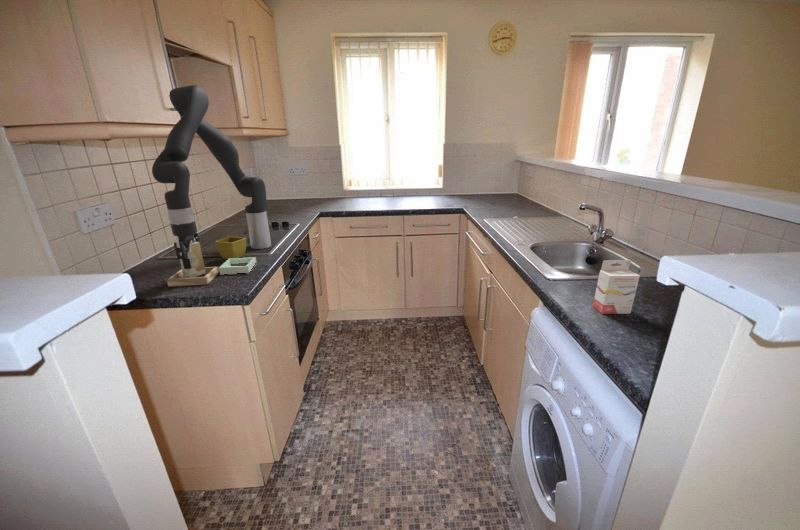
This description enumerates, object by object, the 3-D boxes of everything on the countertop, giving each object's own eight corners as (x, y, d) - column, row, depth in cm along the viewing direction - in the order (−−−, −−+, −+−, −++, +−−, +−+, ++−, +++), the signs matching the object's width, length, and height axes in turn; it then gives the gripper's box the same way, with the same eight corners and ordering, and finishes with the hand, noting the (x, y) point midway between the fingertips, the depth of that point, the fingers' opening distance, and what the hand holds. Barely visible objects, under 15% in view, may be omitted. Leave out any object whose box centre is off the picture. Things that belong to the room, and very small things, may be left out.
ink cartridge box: (602, 314, 96) (612, 265, 92) (592, 306, 101) (601, 259, 96) (631, 313, 97) (643, 264, 92) (620, 306, 101) (630, 259, 96)
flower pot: (249, 257, 152) (246, 237, 149) (235, 263, 144) (232, 242, 141) (233, 255, 154) (229, 236, 151) (218, 261, 146) (214, 241, 143)
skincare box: (190, 278, 123) (182, 246, 119) (183, 277, 124) (175, 244, 120) (207, 273, 128) (200, 241, 124) (199, 271, 130) (192, 240, 126)
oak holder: (183, 274, 131) (182, 268, 130) (219, 272, 133) (218, 266, 132) (168, 286, 120) (166, 279, 119) (207, 284, 122) (206, 277, 121)
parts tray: (229, 265, 141) (228, 258, 140) (256, 263, 143) (255, 257, 142) (220, 274, 130) (218, 267, 130) (249, 273, 132) (247, 266, 131)
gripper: (180, 217, 126) (190, 259, 131) (160, 226, 112) (172, 272, 118) (202, 216, 127) (210, 258, 132) (184, 224, 113) (195, 271, 119)
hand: (192, 265), depth 125 cm, fingers closed on skincare box, 7 cm apart
